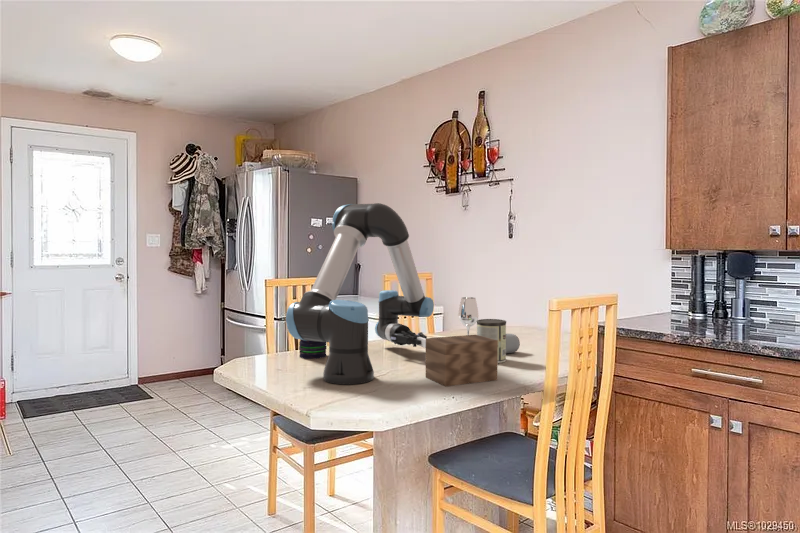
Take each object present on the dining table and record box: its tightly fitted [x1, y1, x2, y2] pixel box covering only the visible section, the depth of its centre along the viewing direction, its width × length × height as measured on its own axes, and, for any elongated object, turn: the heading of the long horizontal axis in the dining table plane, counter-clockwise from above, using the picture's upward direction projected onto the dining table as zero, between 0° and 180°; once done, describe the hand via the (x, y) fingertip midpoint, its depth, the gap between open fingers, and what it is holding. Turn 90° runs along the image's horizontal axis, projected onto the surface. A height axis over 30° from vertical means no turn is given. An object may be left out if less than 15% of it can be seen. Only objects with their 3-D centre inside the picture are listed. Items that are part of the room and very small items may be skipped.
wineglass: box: [457, 296, 479, 335], centre depth 218 cm, size 8×8×20 cm
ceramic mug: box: [506, 333, 521, 354], centre depth 210 cm, size 11×8×8 cm
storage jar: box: [298, 339, 327, 360], centre depth 201 cm, size 10×10×15 cm
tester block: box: [425, 334, 498, 387], centre depth 168 cm, size 18×12×12 cm, turn 115°
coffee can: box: [476, 318, 507, 364], centre depth 195 cm, size 10×10×14 cm
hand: (427, 344), depth 187 cm, fingers closed
